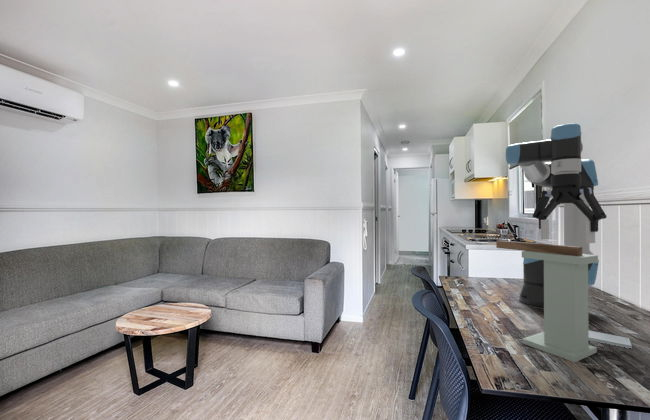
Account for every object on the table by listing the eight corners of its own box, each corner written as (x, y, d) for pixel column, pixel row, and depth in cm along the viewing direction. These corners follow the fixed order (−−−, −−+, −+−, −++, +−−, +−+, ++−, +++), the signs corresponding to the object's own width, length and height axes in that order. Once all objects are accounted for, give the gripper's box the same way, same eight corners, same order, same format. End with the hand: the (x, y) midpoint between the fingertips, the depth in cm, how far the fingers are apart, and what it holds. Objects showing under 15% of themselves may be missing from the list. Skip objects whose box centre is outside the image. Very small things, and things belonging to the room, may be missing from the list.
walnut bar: (501, 247, 110) (501, 240, 110) (582, 255, 89) (582, 246, 89) (496, 247, 109) (496, 240, 109) (577, 256, 88) (577, 247, 88)
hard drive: (629, 337, 100) (579, 327, 108) (632, 345, 93) (579, 334, 101) (629, 342, 100) (579, 332, 108) (632, 351, 93) (579, 339, 101)
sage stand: (541, 334, 104) (541, 249, 104) (601, 353, 90) (600, 255, 90) (519, 342, 98) (518, 251, 98) (579, 363, 84) (578, 257, 84)
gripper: (520, 177, 108) (521, 238, 108) (604, 168, 84) (605, 245, 84) (536, 178, 110) (536, 237, 110) (622, 169, 87) (622, 244, 86)
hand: (566, 241), depth 97 cm, fingers open, 13 cm apart
